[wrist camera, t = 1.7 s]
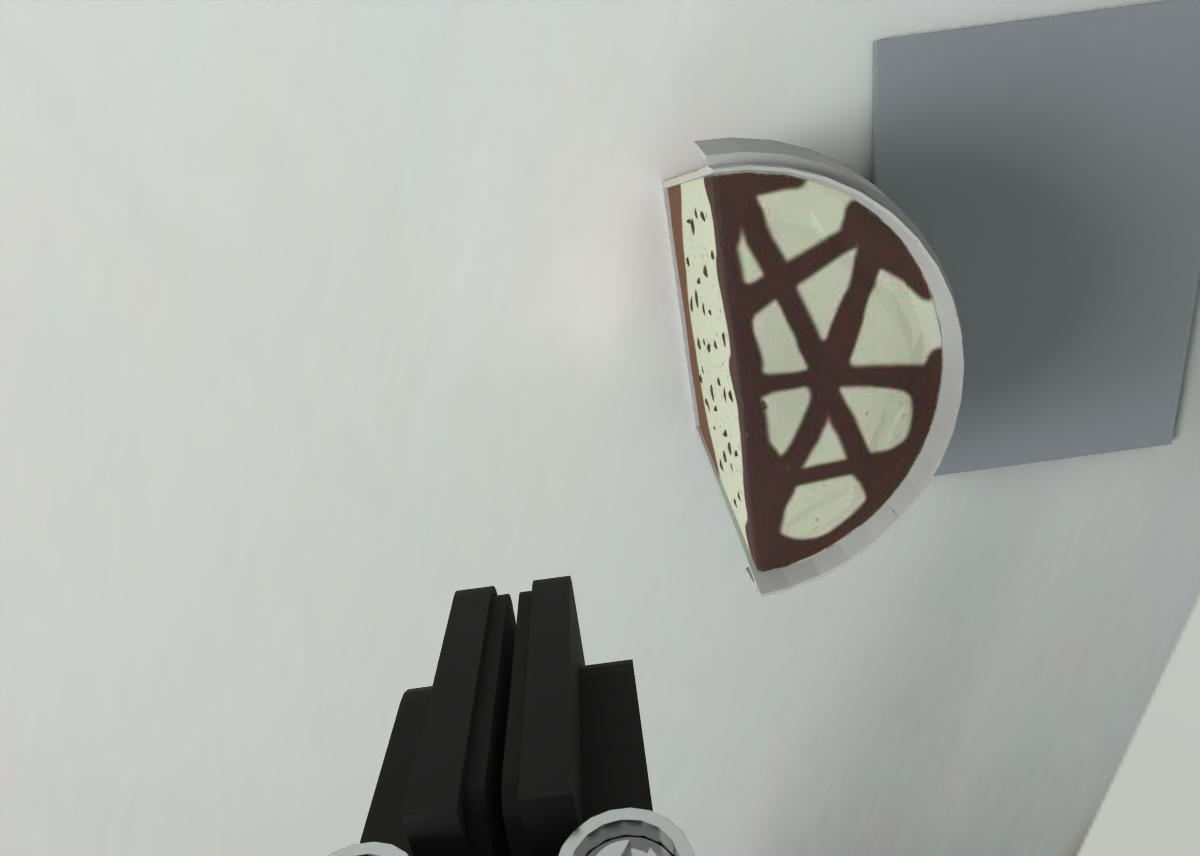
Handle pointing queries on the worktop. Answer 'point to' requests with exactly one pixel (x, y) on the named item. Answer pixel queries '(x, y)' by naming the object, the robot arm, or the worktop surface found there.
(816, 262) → the food container
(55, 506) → the worktop surface
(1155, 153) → the mat
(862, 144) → the worktop surface
